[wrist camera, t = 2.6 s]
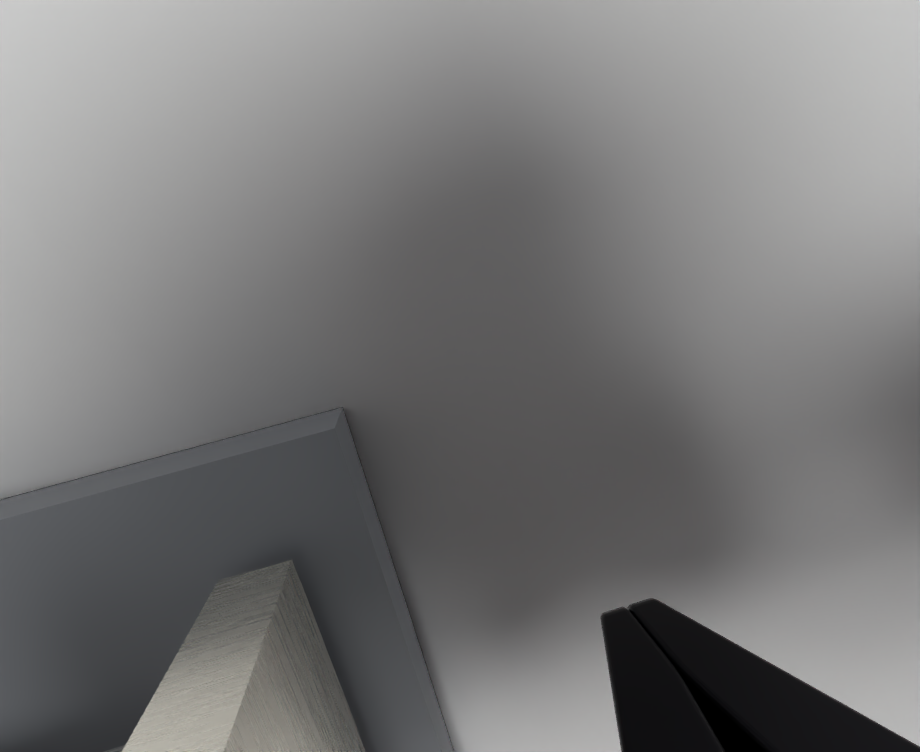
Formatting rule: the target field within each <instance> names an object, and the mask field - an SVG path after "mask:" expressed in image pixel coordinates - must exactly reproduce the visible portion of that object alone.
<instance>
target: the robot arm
mask: <svg viewBox="0 0 920 752" xmlns="http://www.w3.org/2000/svg"><path fill="white" fill-rule="evenodd" d="M601 624H602V630H603V637H604V643H605V650H606V656H607V662H608V669H609V675H610V681H611V688H612V694H613V701H614V707H615V713H616V720H617V726H618V732H619V739H620V745H621V752H920V747H919V746H918V745H916V744H914V743H912V742H910V741H909V740H907V739H905V738H903V737H901V736H900V735H898V734H896V733H894V732H893V731H891V730H889V729H887V728H885V727H884V726H882V725H880V724H878V723H876V722H875V721H873V720H871V719H869V718H868V717H866V716H864V715H862V714H860V713H859V712H857V711H855V710H853V709H851V708H850V707H848V706H846V705H844V704H843V703H841V702H839V701H837V700H835V699H834V698H832V697H830V696H828V695H826V694H825V693H823V692H821V691H819V690H818V689H816V688H814V687H812V686H810V685H809V684H807V683H805V682H803V681H801V680H800V679H798V678H796V677H794V676H792V675H791V674H789V673H787V672H785V671H784V670H782V669H780V668H778V667H776V666H775V665H773V664H771V663H769V662H767V661H766V660H764V659H762V658H760V657H759V656H757V655H755V654H753V653H751V652H750V651H748V650H746V649H744V648H742V647H741V646H739V645H737V644H735V643H734V642H732V641H730V640H728V639H726V638H725V637H723V636H721V635H719V634H717V633H716V632H714V631H712V630H710V629H708V628H707V627H705V626H703V625H701V624H700V623H698V622H696V621H694V620H692V619H691V618H689V617H687V616H685V615H683V614H682V613H680V612H678V611H676V610H675V609H673V608H671V607H669V606H667V605H666V604H664V603H662V602H660V601H658V600H656V599H653V598H650V599H646V600H643V601H640V602H637V603H633V604H631V605H629V607H628V609H627V608H625V607H621V608H617V609H614V610H611V611H608V612H605V613H603V614H602V615H601Z"/></svg>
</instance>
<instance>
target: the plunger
mask: <svg viewBox="0 0 920 752" xmlns="http://www.w3.org/2000/svg"><path fill="white" fill-rule="evenodd" d="M105 752H366V750H365V748H364V745H363V742H362V740H361V737H360V735H359V732H358V729H357V727H356V724H355V722H354V719H353V716H352V714H351V711H350V709H349V706H348V703H347V701H346V698H345V696H344V693H343V690H342V688H341V685H340V683H339V680H338V677H337V675H336V672H335V670H334V667H333V664H332V662H331V659H330V657H329V654H328V651H327V649H326V646H325V644H324V641H323V638H322V636H321V633H320V631H319V628H318V625H317V623H316V620H315V618H314V615H313V612H312V610H311V607H310V605H309V602H308V599H307V597H306V594H305V592H304V589H303V586H302V584H301V581H300V579H299V576H298V573H297V571H296V568H295V566H294V563H293V560H292V559H291V560H287V561H284V562H280V563H277V564H274V565H270V566H267V567H263V568H260V569H256V570H253V571H249V572H246V573H243V574H239V575H236V576H232V577H229V578H225V579H222V580H219V581H218V582H217V584H216V585H215V587H214V589H213V591H212V592H211V594H210V596H209V598H208V600H207V601H206V603H205V605H204V607H203V608H202V610H201V612H200V614H199V616H198V617H197V619H196V621H195V623H194V624H193V626H192V628H191V630H190V632H189V633H188V635H187V637H186V639H185V640H184V642H183V644H182V646H181V647H180V649H179V651H178V653H177V655H176V656H175V658H174V660H173V662H172V663H171V665H170V667H169V669H168V671H167V672H166V674H165V676H164V678H163V679H162V681H161V683H160V685H159V687H158V688H157V690H156V692H155V694H154V695H153V697H152V699H151V701H150V702H149V704H148V706H147V708H146V710H145V711H144V713H143V715H142V717H141V718H140V720H139V722H138V724H137V726H136V727H135V729H134V731H133V733H132V734H131V736H130V738H129V740H128V742H127V743H126V745H124V746H121V747H118V748H114V749H111V750H108V751H105Z"/></svg>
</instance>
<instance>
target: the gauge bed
mask: <svg viewBox="0 0 920 752" xmlns="http://www.w3.org/2000/svg"><path fill="white" fill-rule="evenodd" d="M291 559H292V560H293V563H294V566H295V568H296V571H297V573H298V576H299V579H300V581H301V584H302V586H303V589H304V592H305V594H306V597H307V599H308V602H309V605H310V607H311V610H312V612H313V615H314V618H315V620H316V623H317V625H318V628H319V631H320V633H321V636H322V638H323V641H324V644H325V646H326V649H327V651H328V654H329V657H330V659H331V662H332V664H333V667H334V670H335V672H336V675H337V677H338V680H339V683H340V685H341V688H342V690H343V693H344V696H345V698H346V701H347V703H348V706H349V709H350V711H351V714H352V716H353V719H354V722H355V724H356V727H357V729H358V732H359V735H360V737H361V740H362V742H363V745H364V748H365V750H366V752H454V750H453V747H452V744H451V741H450V738H449V735H448V732H447V729H446V726H445V723H444V720H443V716H442V713H441V710H440V707H439V704H438V701H437V698H436V695H435V692H434V689H433V686H432V682H431V679H430V676H429V673H428V670H427V667H426V664H425V661H424V658H423V655H422V652H421V648H420V645H419V642H418V639H417V636H416V633H415V630H414V627H413V624H412V621H411V617H410V614H409V611H408V608H407V605H406V602H405V599H404V596H403V593H402V590H401V587H400V583H399V580H398V577H397V574H396V571H395V568H394V565H393V562H392V559H391V556H390V553H389V549H388V546H387V543H386V540H385V537H384V534H383V531H382V528H381V525H380V522H379V518H378V515H377V512H376V509H375V506H374V503H373V500H372V497H371V494H370V491H369V488H368V484H367V481H366V478H365V475H364V472H363V469H362V466H361V463H360V460H359V457H358V454H357V450H356V447H355V444H354V441H353V438H352V435H351V432H350V429H349V426H348V423H347V420H346V416H345V413H344V410H343V407H342V408H338V409H334V410H331V411H327V412H323V413H320V414H316V415H312V416H309V417H305V418H301V419H298V420H294V421H290V422H286V423H283V424H279V425H275V426H272V427H268V428H264V429H261V430H257V431H253V432H250V433H246V434H242V435H239V436H235V437H231V438H228V439H224V440H220V441H216V442H213V443H209V444H205V445H202V446H198V447H194V448H191V449H187V450H183V451H180V452H176V453H172V454H169V455H165V456H161V457H157V458H154V459H150V460H146V461H143V462H139V463H135V464H132V465H128V466H124V467H121V468H117V469H113V470H110V471H106V472H102V473H98V474H95V475H91V476H87V477H84V478H80V479H76V480H73V481H69V482H65V483H62V484H58V485H54V486H51V487H47V488H43V489H40V490H36V491H32V492H28V493H25V494H21V495H17V496H14V497H10V498H6V499H3V500H0V752H105V751H108V750H111V749H114V748H118V747H121V746H124V745H126V743H127V742H128V740H129V738H130V736H131V734H132V733H133V731H134V729H135V727H136V726H137V724H138V722H139V720H140V718H141V717H142V715H143V713H144V711H145V710H146V708H147V706H148V704H149V702H150V701H151V699H152V697H153V695H154V694H155V692H156V690H157V688H158V687H159V685H160V683H161V681H162V679H163V678H164V676H165V674H166V672H167V671H168V669H169V667H170V665H171V663H172V662H173V660H174V658H175V656H176V655H177V653H178V651H179V649H180V647H181V646H182V644H183V642H184V640H185V639H186V637H187V635H188V633H189V632H190V630H191V628H192V626H193V624H194V623H195V621H196V619H197V617H198V616H199V614H200V612H201V610H202V608H203V607H204V605H205V603H206V601H207V600H208V598H209V596H210V594H211V592H212V591H213V589H214V587H215V585H216V584H217V582H218V581H219V580H222V579H225V578H229V577H232V576H236V575H239V574H243V573H246V572H249V571H253V570H256V569H260V568H263V567H267V566H270V565H274V564H277V563H280V562H284V561H287V560H291Z"/></svg>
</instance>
